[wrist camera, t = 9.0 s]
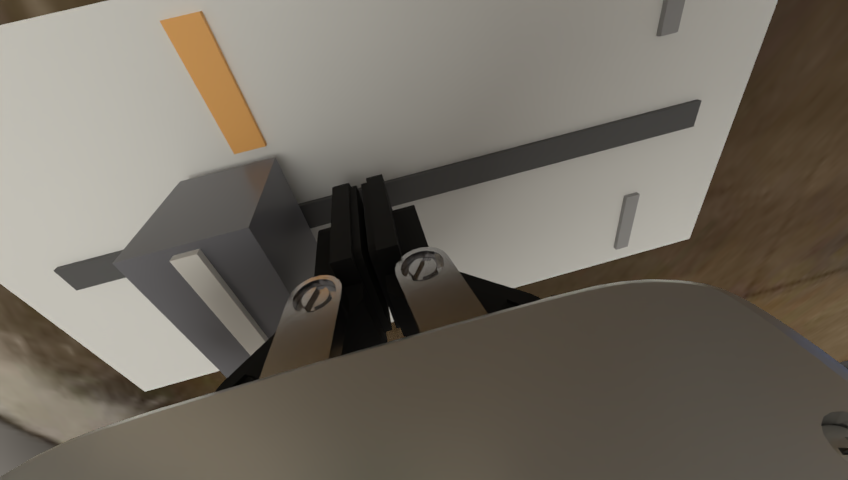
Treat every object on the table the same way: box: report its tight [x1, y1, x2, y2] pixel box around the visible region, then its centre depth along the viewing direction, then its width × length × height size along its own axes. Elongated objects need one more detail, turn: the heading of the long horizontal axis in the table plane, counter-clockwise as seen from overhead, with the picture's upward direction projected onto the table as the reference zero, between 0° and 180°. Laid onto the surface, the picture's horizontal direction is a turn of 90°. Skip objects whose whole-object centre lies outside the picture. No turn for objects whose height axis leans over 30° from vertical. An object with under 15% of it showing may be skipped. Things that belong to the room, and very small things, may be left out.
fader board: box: [0, 0, 778, 392], centre depth 14 cm, size 28×14×2 cm, turn 101°
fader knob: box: [112, 157, 317, 378], centre depth 11 cm, size 3×5×4 cm, turn 11°
